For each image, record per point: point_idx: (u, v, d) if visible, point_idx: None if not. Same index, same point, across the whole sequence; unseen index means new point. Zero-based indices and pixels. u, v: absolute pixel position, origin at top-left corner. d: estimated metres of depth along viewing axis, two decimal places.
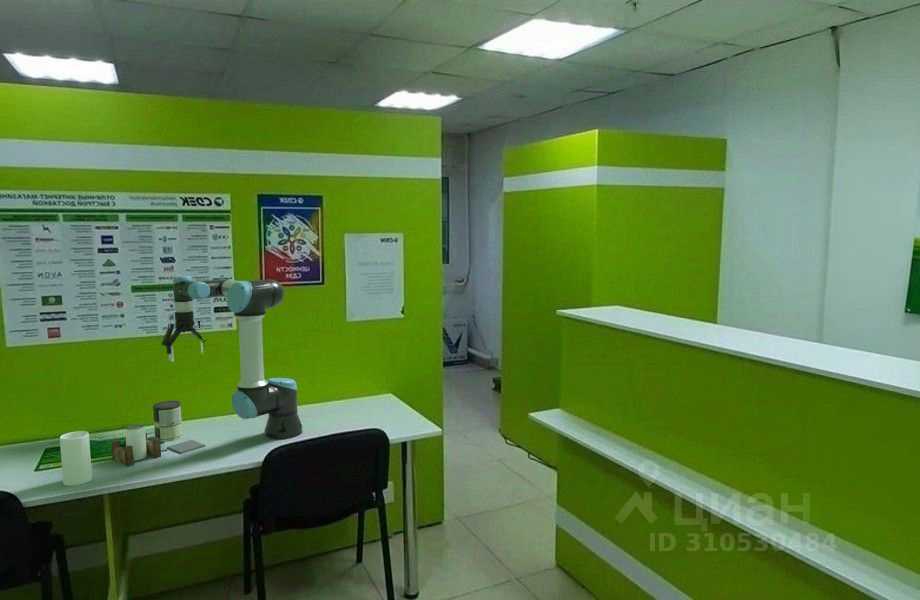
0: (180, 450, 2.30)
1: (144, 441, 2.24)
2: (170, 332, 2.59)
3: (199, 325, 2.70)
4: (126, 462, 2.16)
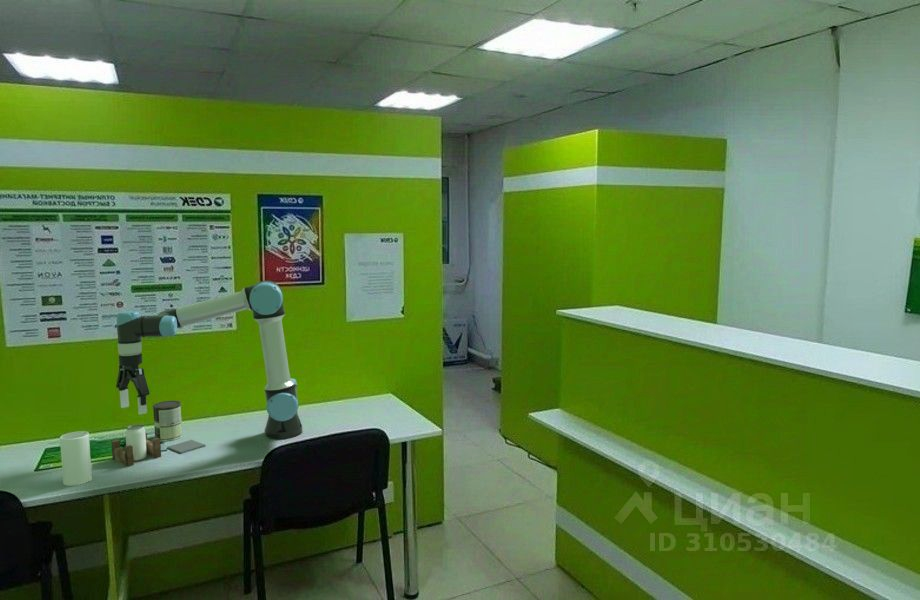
0: (180, 450, 2.30)
1: (144, 441, 2.24)
2: (119, 374, 2.24)
3: (136, 375, 2.16)
4: (126, 462, 2.16)
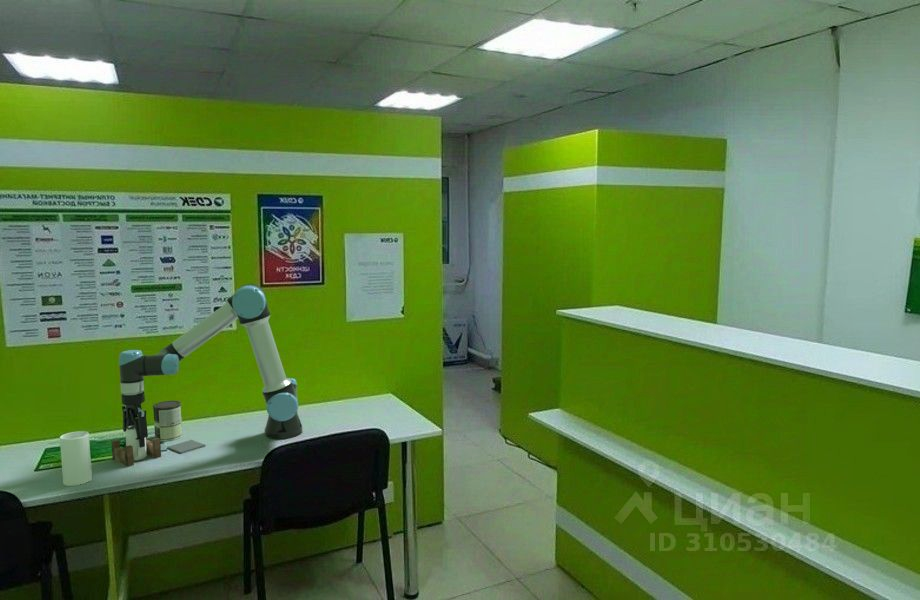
0: (180, 450, 2.30)
1: None
2: (123, 416, 2.25)
3: (138, 417, 2.18)
4: (126, 462, 2.16)
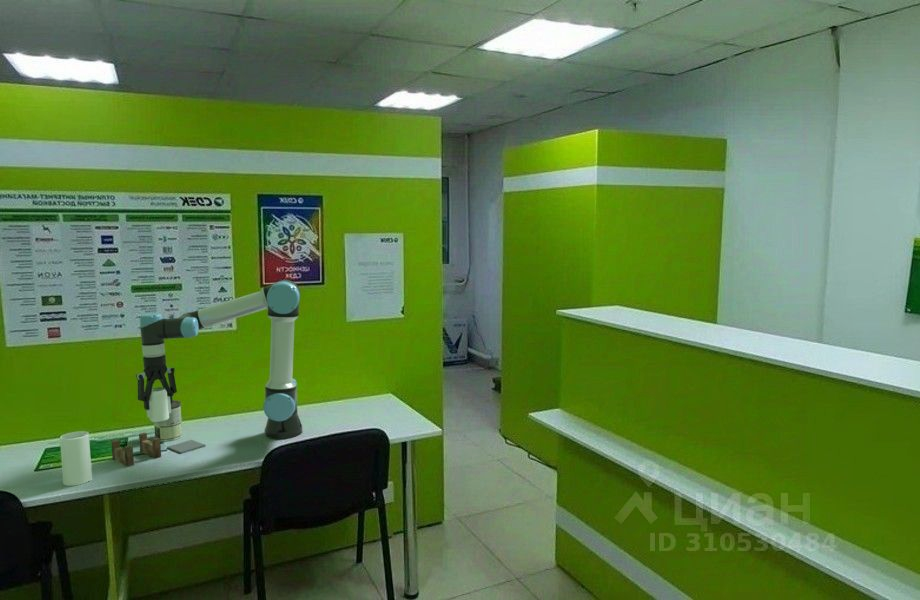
0: (180, 450, 2.30)
1: None
2: (142, 384, 2.21)
3: (171, 373, 2.30)
4: (126, 462, 2.16)
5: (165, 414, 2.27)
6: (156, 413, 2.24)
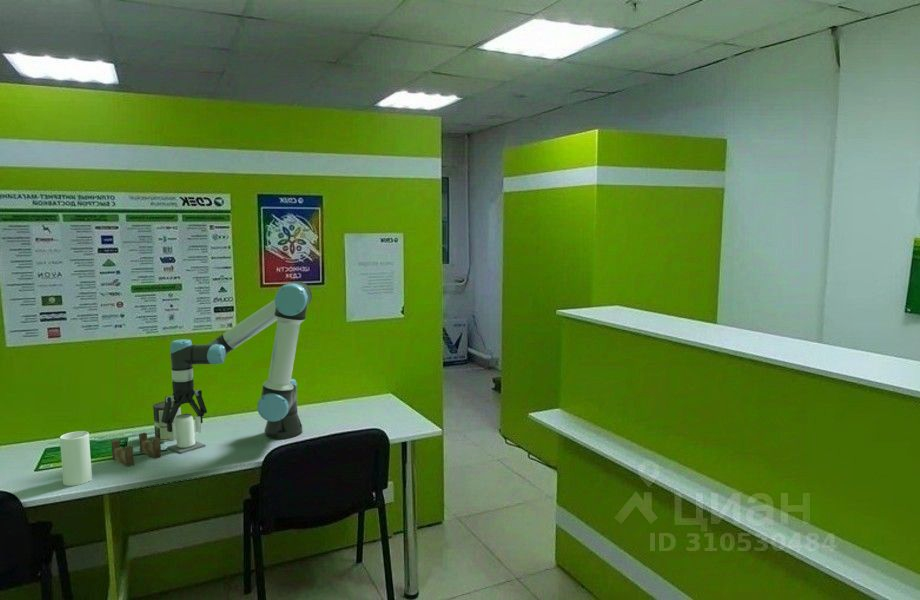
0: (180, 450, 2.30)
1: None
2: (169, 407, 2.28)
3: (199, 396, 2.37)
4: (126, 462, 2.16)
5: (192, 440, 2.34)
6: (183, 439, 2.32)
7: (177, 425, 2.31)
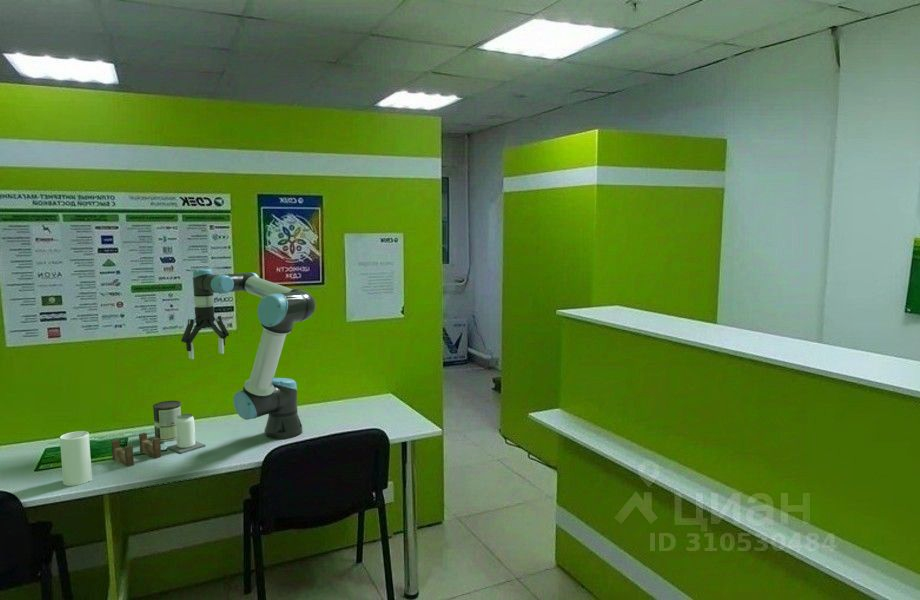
0: (180, 450, 2.30)
1: None
2: (190, 328, 2.46)
3: (220, 321, 2.57)
4: (126, 462, 2.16)
5: (192, 440, 2.34)
6: (184, 439, 2.32)
7: (178, 425, 2.32)
